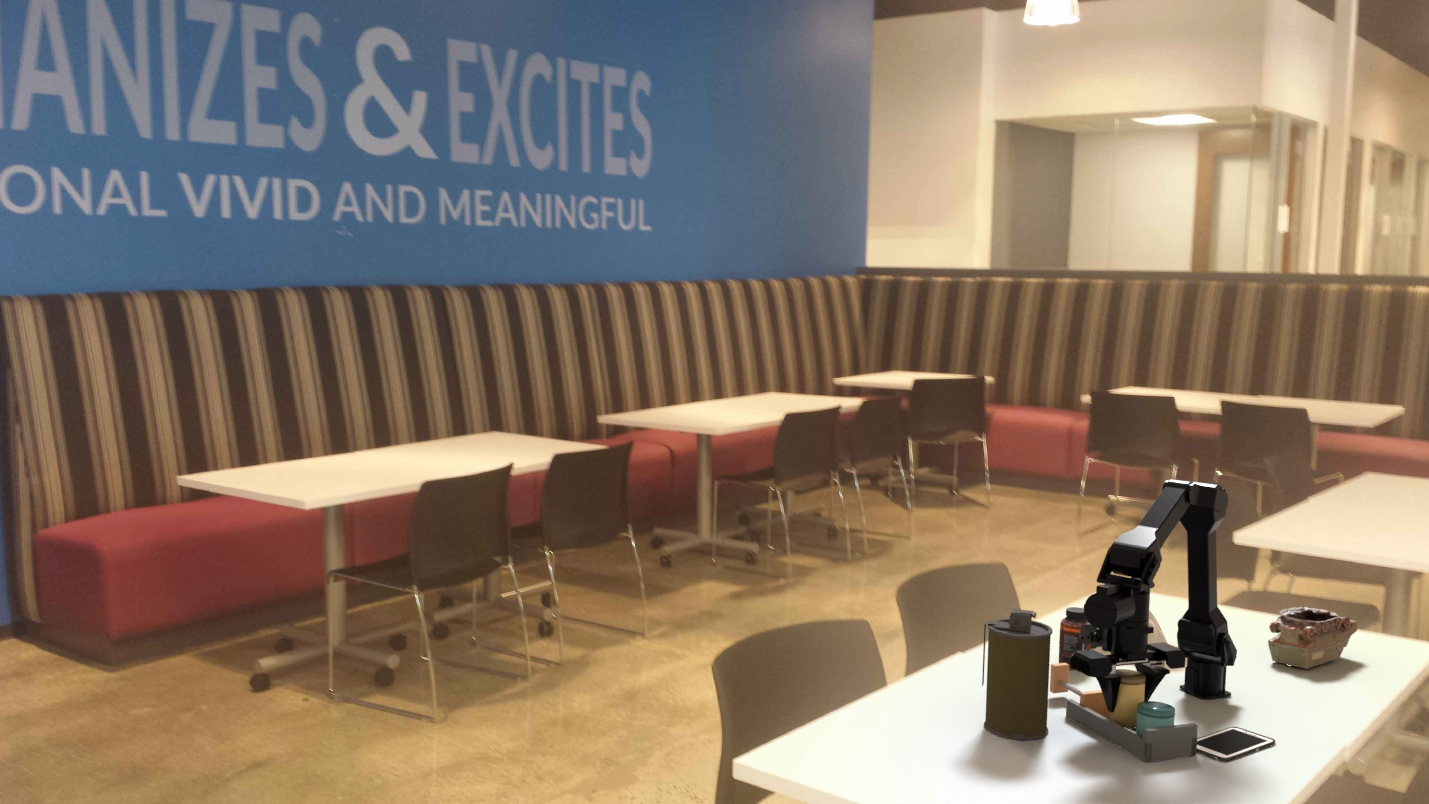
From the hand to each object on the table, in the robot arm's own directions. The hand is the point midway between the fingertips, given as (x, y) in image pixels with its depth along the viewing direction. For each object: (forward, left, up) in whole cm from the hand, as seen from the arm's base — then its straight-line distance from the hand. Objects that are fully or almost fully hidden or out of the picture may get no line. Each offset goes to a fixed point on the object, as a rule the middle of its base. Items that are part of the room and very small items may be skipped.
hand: (1125, 709), depth 201 cm
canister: (+17, -7, -4) cm, 18 cm away
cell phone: (-13, +9, -5) cm, 17 cm away
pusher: (0, -13, -4) cm, 13 cm away
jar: (0, +7, -4) cm, 8 cm away
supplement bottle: (-13, -33, -4) cm, 36 cm away
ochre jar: (0, 0, -2) cm, 2 cm away
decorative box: (-62, -25, -4) cm, 67 cm away
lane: (0, +1, -4) cm, 4 cm away
